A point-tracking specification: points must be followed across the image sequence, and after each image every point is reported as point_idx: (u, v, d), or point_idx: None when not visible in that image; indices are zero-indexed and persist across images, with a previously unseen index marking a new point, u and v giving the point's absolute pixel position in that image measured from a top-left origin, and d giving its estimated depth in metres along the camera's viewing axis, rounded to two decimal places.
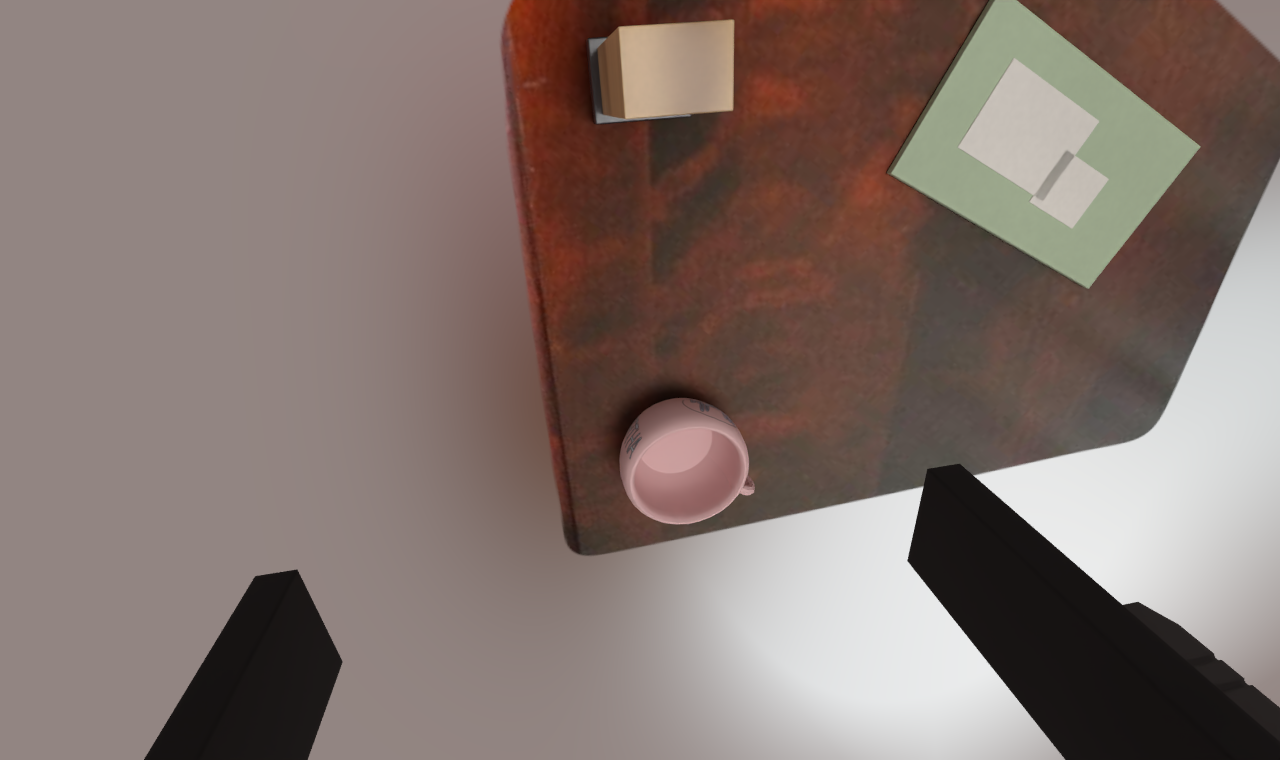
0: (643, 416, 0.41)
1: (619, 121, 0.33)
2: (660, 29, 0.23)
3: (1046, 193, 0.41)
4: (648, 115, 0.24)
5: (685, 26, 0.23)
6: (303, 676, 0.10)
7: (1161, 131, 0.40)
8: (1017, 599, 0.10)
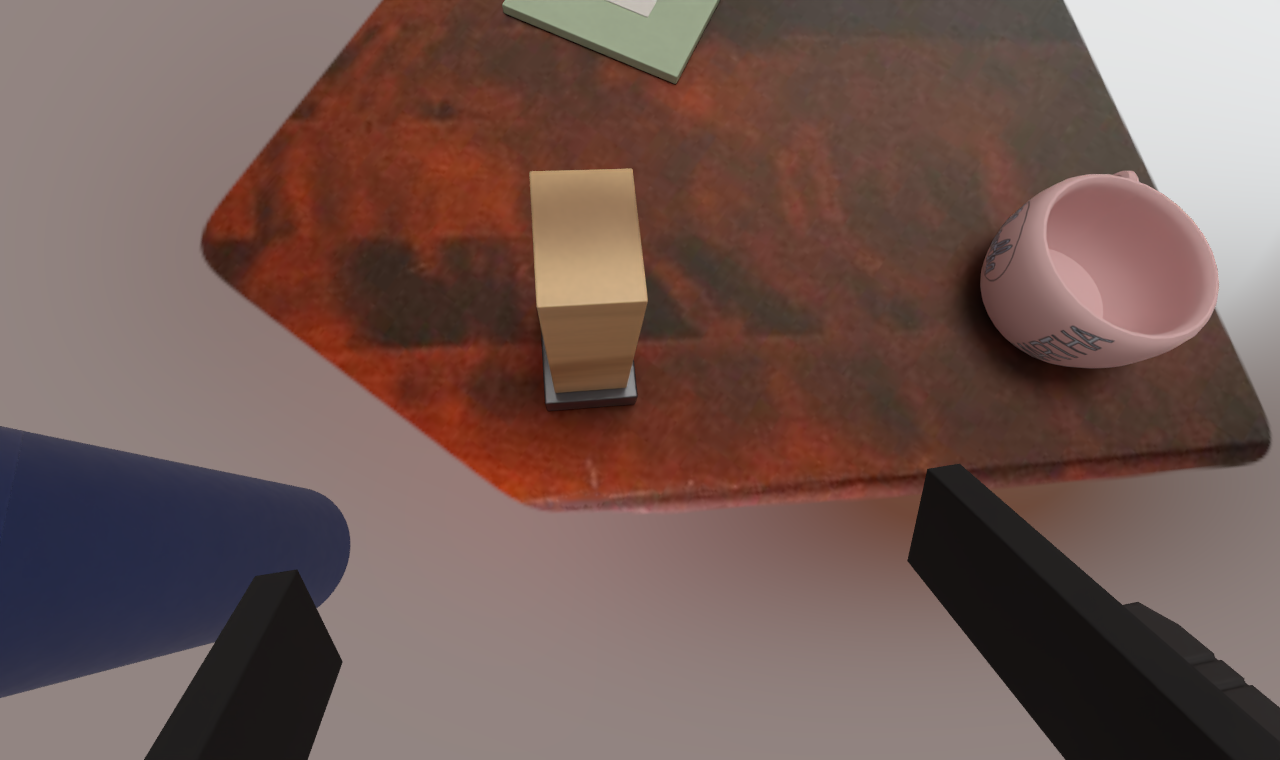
0: (1025, 333, 0.28)
1: (633, 368, 0.27)
2: (540, 256, 0.17)
3: None
4: (641, 271, 0.18)
5: (536, 226, 0.18)
6: (303, 676, 0.10)
7: None
8: (1017, 599, 0.10)
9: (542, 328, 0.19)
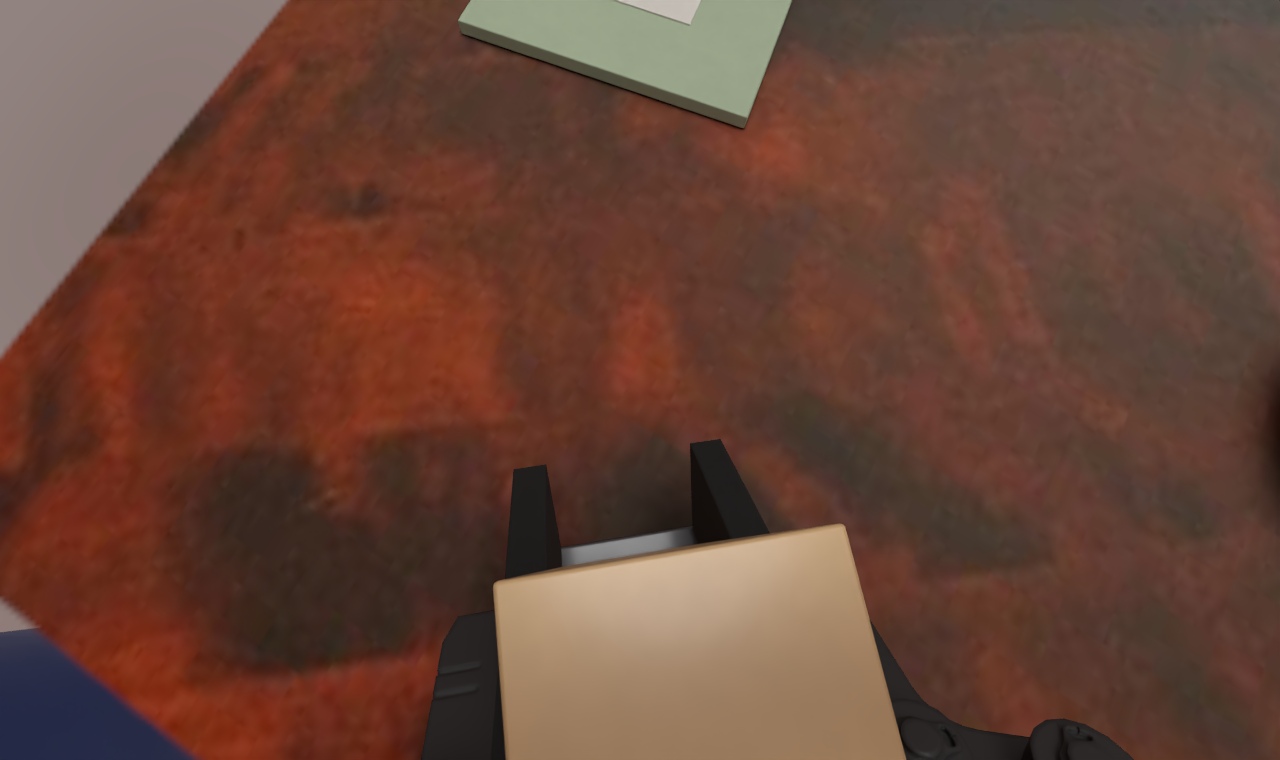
0: None
1: None
2: None
3: None
4: None
5: None
6: (555, 548, 0.13)
7: None
8: None
9: None
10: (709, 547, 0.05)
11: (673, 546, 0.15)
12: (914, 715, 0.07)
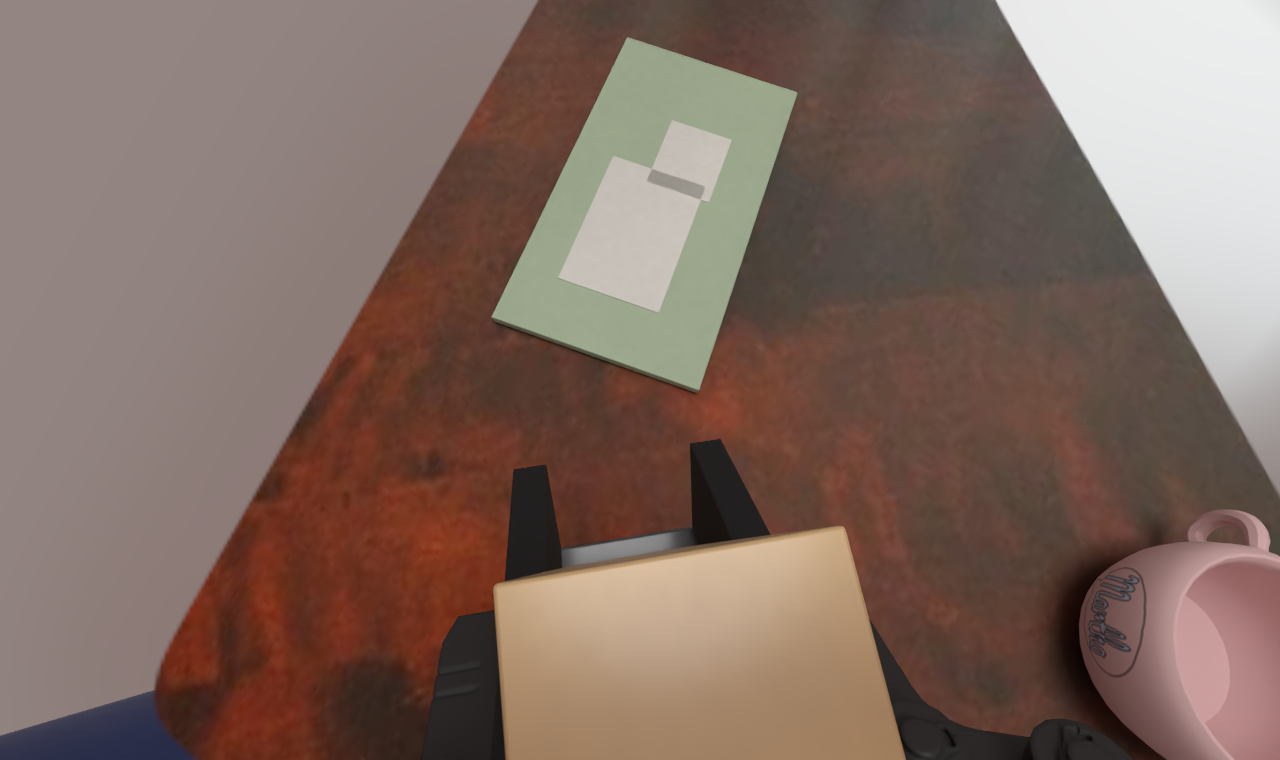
0: (1153, 747, 0.23)
1: None
2: None
3: (696, 184, 0.33)
4: None
5: None
6: (556, 548, 0.13)
7: (616, 84, 0.35)
8: None
9: None
10: (709, 549, 0.05)
11: (673, 547, 0.15)
12: (914, 715, 0.07)
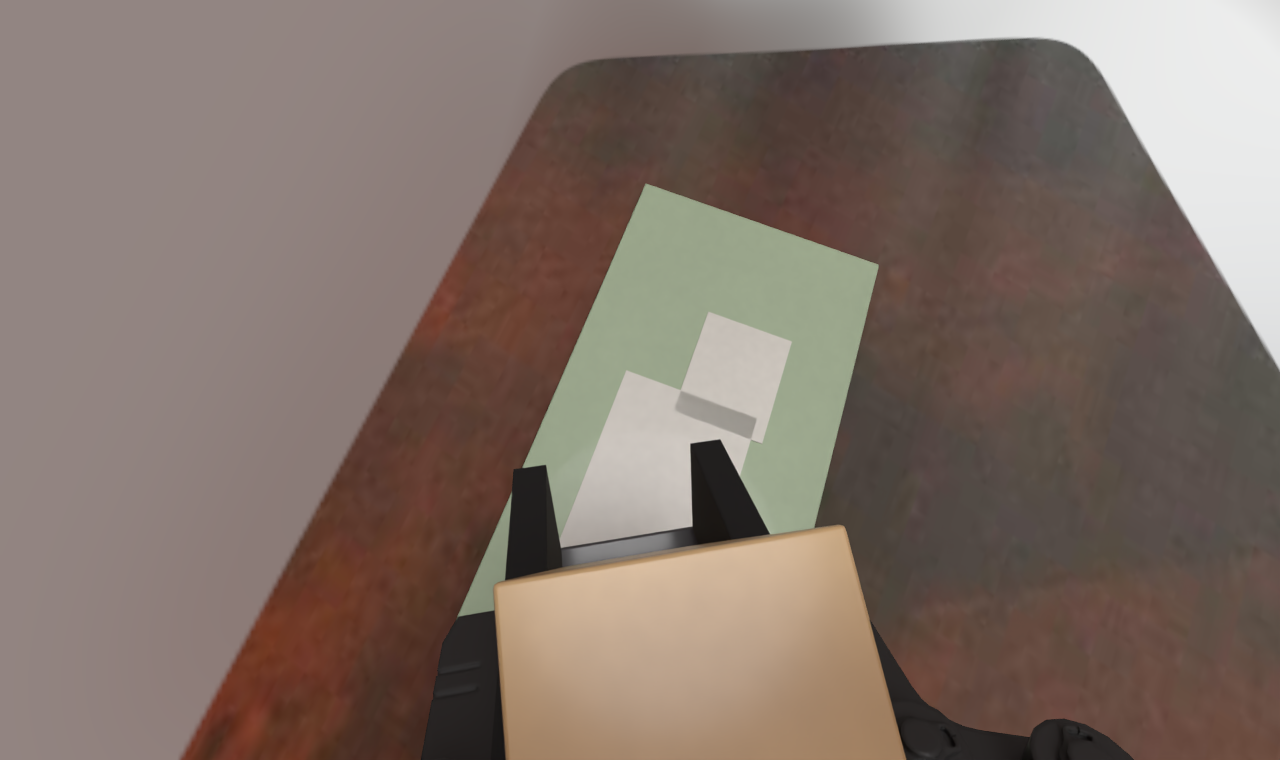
0: None
1: None
2: None
3: (744, 413, 0.24)
4: None
5: None
6: (556, 548, 0.13)
7: (631, 256, 0.26)
8: None
9: None
10: (709, 548, 0.05)
11: (673, 547, 0.15)
12: (914, 715, 0.07)
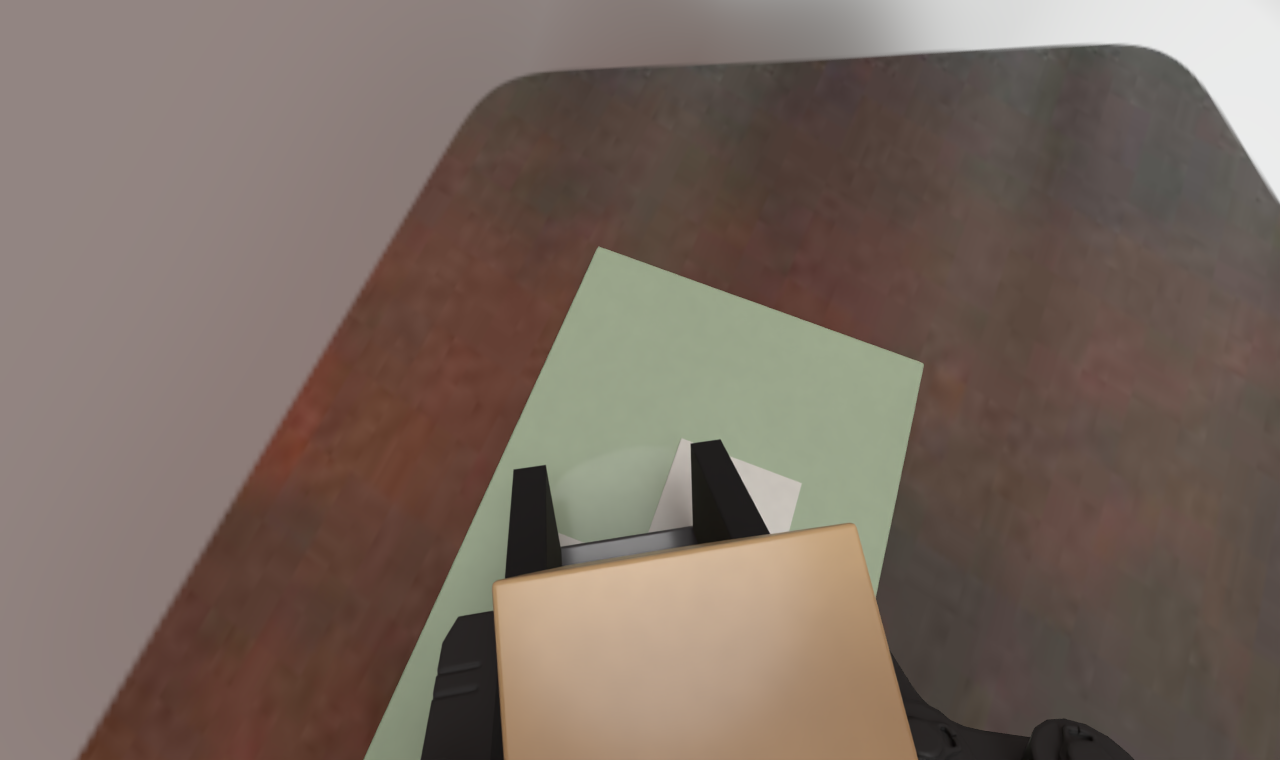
0: None
1: None
2: None
3: None
4: None
5: None
6: (555, 548, 0.13)
7: (573, 353, 0.18)
8: None
9: None
10: (716, 546, 0.05)
11: (674, 546, 0.15)
12: (914, 715, 0.07)
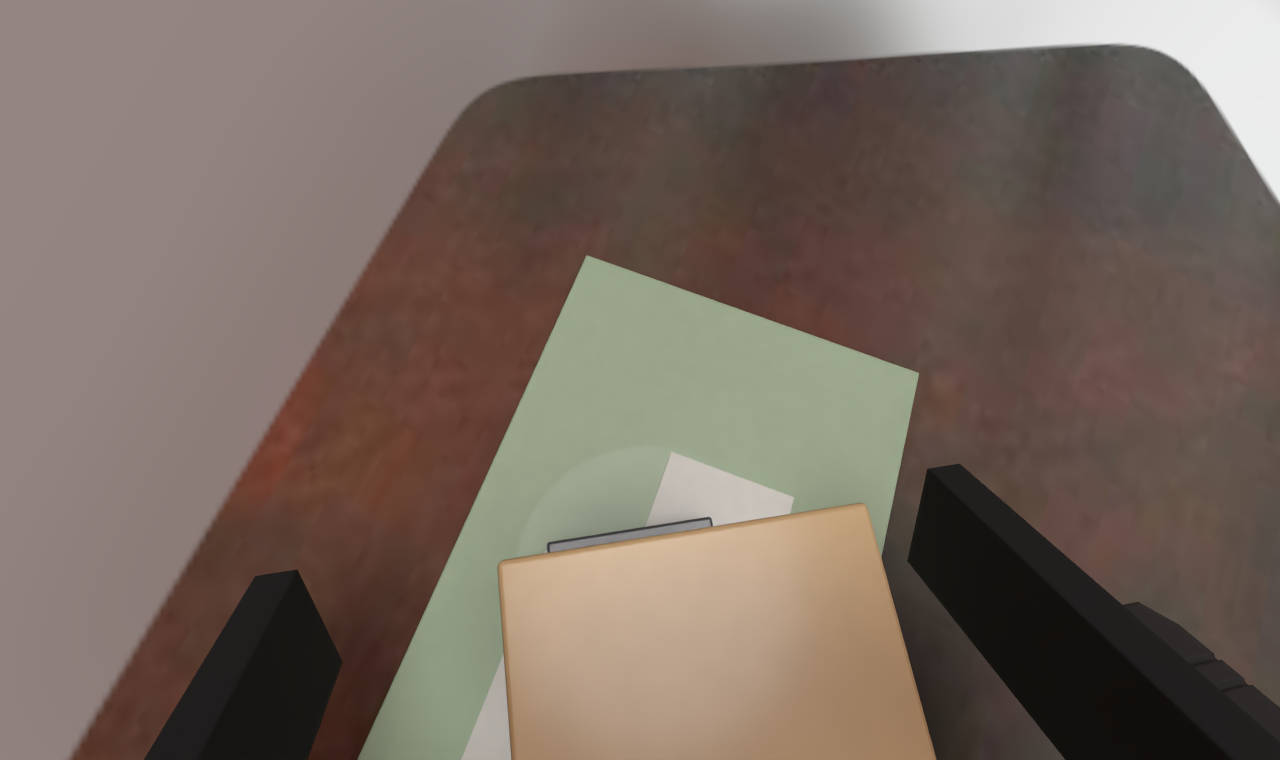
0: None
1: None
2: None
3: None
4: None
5: None
6: (303, 676, 0.10)
7: (561, 365, 0.18)
8: (1016, 599, 0.10)
9: None
10: (724, 526, 0.05)
11: None
12: None
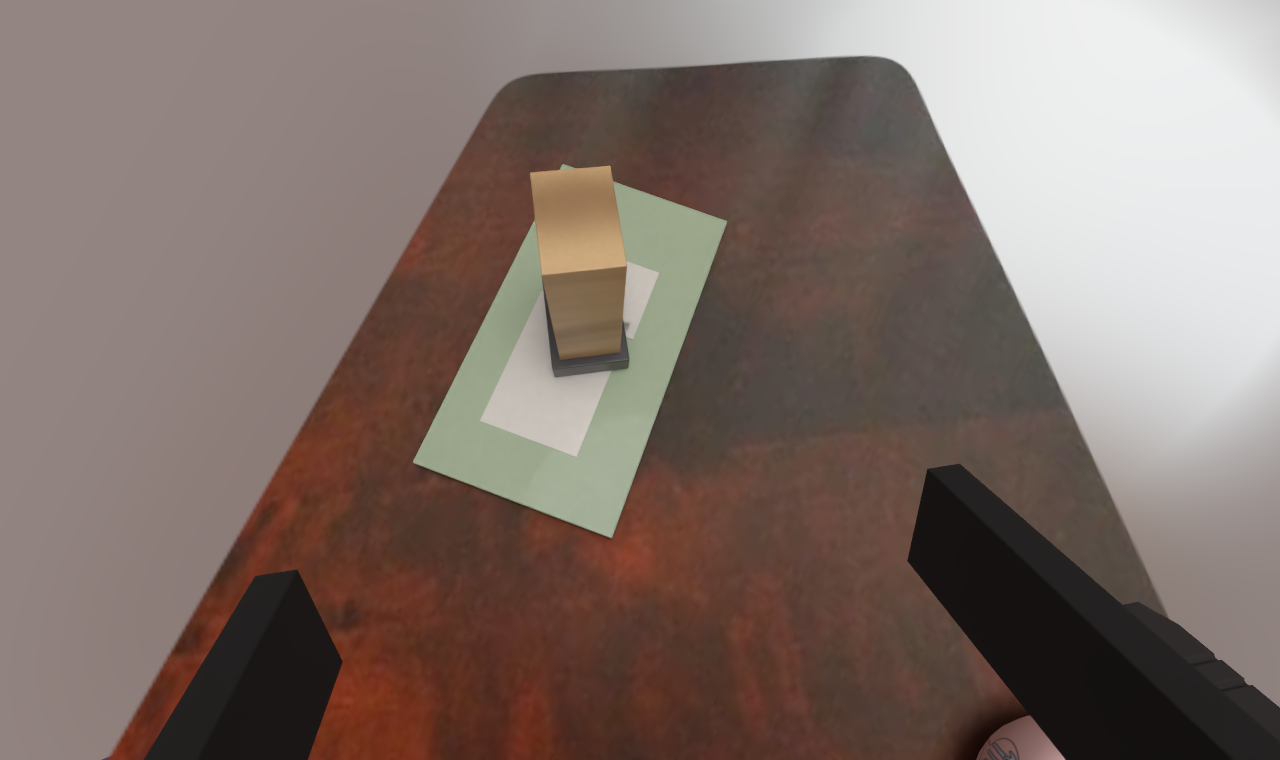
0: None
1: (625, 337, 0.32)
2: (541, 236, 0.23)
3: None
4: (621, 244, 0.23)
5: (538, 214, 0.23)
6: (303, 676, 0.10)
7: None
8: (1016, 598, 0.10)
9: (546, 294, 0.24)
10: None
11: None
12: None
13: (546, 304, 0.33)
